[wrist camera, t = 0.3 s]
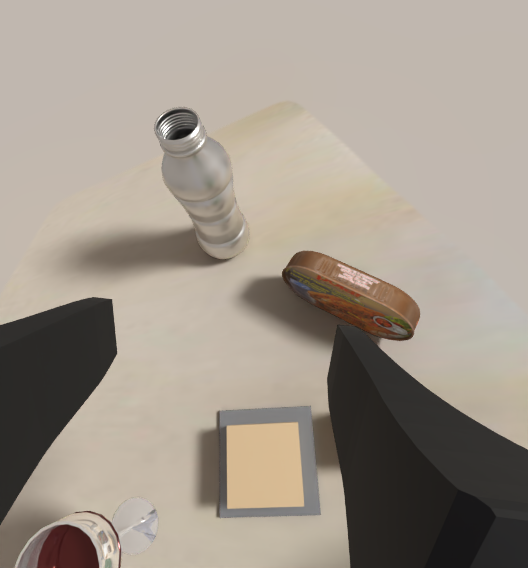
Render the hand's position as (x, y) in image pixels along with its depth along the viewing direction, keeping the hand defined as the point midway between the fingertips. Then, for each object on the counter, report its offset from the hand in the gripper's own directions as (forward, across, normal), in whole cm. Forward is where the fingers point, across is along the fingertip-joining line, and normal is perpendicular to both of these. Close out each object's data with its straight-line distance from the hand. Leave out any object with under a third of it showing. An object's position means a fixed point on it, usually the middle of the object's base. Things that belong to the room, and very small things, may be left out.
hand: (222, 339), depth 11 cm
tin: (+28, -10, +12) cm, 32 cm away
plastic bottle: (+35, +6, +7) cm, 36 cm away
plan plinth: (+17, -2, +25) cm, 30 cm away
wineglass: (+13, +10, +31) cm, 35 cm away
